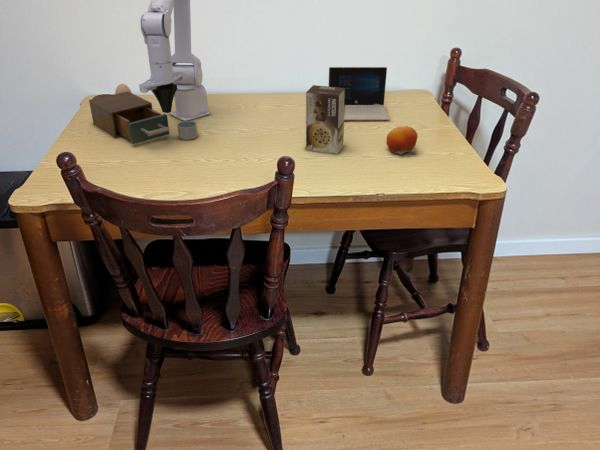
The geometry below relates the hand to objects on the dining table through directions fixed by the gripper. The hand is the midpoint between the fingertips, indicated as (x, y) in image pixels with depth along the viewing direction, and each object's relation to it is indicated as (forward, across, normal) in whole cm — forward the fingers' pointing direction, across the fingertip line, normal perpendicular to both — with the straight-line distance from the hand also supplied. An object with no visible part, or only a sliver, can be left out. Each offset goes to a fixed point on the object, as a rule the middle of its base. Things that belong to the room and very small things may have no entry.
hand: (166, 111), depth 151 cm
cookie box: (+8, -20, +38) cm, 44 cm away
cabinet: (+8, 0, -20) cm, 21 cm away
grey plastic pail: (+8, -5, +2) cm, 10 cm away
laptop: (+9, -48, +32) cm, 59 cm away
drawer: (+7, +3, -7) cm, 11 cm away
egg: (+9, -13, -34) cm, 37 cm away
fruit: (+8, -30, +56) cm, 64 cm away
